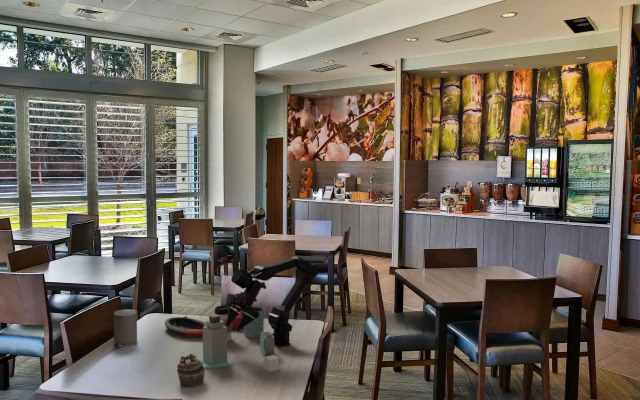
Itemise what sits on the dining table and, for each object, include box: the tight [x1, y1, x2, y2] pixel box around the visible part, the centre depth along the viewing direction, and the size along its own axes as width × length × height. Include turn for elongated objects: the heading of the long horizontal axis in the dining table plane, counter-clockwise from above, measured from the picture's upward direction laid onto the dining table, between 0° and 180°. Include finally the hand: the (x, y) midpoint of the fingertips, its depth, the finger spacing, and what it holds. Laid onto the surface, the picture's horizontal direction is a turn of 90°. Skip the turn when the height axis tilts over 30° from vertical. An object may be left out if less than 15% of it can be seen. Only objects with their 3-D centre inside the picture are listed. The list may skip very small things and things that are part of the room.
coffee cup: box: [214, 304, 233, 342], centre depth 230 cm, size 8×8×15 cm
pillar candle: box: [113, 308, 138, 346], centre depth 226 cm, size 10×10×15 cm
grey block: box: [263, 354, 280, 373], centre depth 196 cm, size 4×4×4 cm
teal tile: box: [197, 356, 232, 370], centre depth 203 cm, size 11×11×1 cm
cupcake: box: [177, 353, 206, 389], centre depth 183 cm, size 10×10×10 cm
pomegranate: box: [232, 311, 242, 330], centre depth 249 cm, size 10×10×9 cm
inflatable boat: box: [164, 315, 206, 339], centre depth 241 cm, size 16×31×5 cm, turn 45°
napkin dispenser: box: [259, 331, 276, 357], centre depth 212 cm, size 4×7×8 cm, turn 21°
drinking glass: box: [242, 306, 266, 339], centre depth 237 cm, size 10×10×12 cm
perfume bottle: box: [202, 313, 228, 365], centre depth 203 cm, size 7×7×18 cm
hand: (231, 328), depth 209 cm, fingers open, 9 cm apart
